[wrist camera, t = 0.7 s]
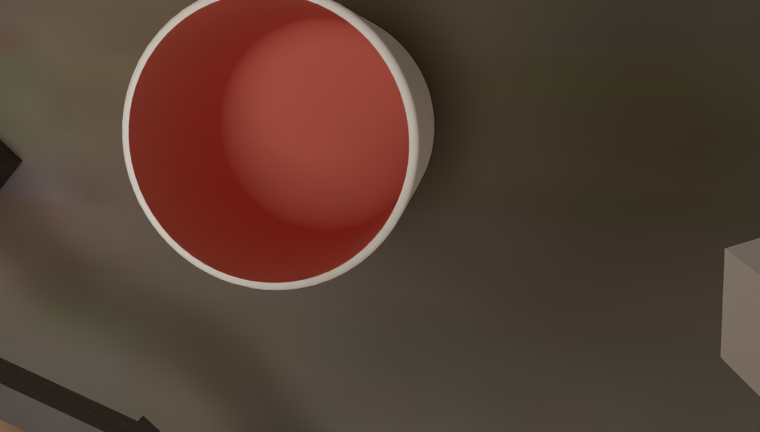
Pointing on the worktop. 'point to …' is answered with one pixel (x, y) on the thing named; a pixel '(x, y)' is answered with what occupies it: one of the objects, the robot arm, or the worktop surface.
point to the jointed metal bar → (52, 386)
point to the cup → (275, 138)
